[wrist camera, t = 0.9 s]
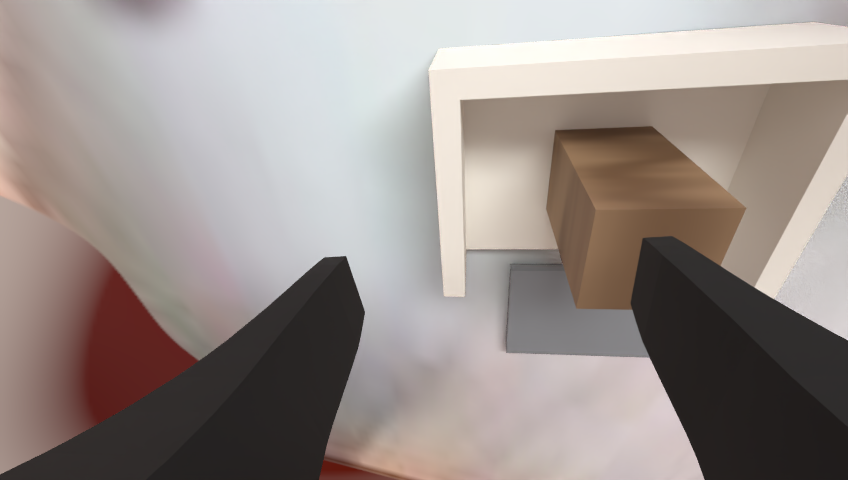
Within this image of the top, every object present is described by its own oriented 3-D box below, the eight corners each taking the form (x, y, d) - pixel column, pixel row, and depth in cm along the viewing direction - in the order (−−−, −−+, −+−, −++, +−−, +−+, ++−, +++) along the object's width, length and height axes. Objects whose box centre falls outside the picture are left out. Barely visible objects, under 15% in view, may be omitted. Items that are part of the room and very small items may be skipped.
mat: (679, 264, 21) (684, 271, 20) (647, 349, 25) (650, 357, 24) (510, 264, 22) (511, 271, 22) (505, 345, 26) (506, 352, 26)
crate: (813, 21, 14) (928, 38, 11) (719, 242, 20) (772, 301, 16) (438, 48, 16) (428, 70, 13) (448, 243, 22) (443, 296, 18)
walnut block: (652, 126, 16) (746, 207, 11) (631, 207, 19) (700, 311, 13) (555, 130, 17) (596, 209, 11) (546, 208, 19) (576, 308, 13)
